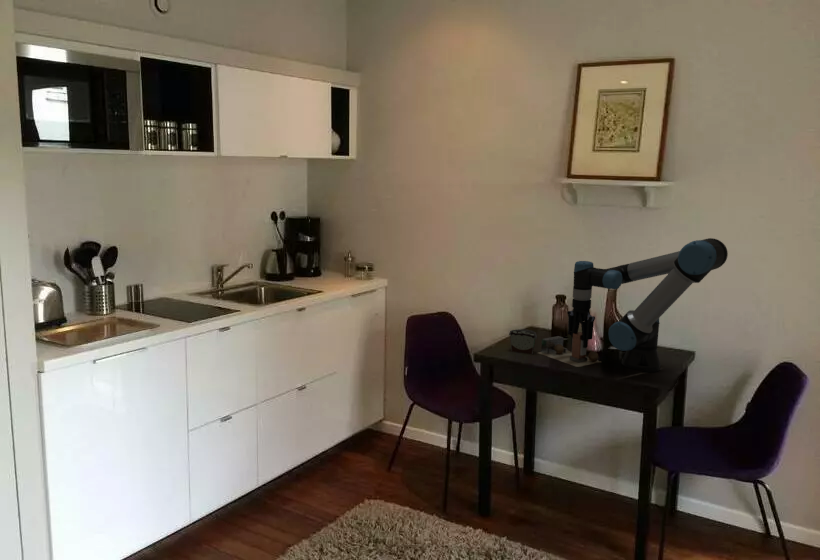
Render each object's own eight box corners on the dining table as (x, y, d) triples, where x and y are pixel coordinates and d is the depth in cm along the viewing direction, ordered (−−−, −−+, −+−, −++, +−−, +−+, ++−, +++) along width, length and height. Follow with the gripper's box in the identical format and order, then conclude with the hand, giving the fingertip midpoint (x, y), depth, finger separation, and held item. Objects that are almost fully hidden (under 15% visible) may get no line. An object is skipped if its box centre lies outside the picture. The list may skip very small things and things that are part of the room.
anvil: (569, 352, 301) (569, 339, 299) (552, 356, 295) (552, 342, 294) (557, 349, 306) (558, 335, 305) (541, 352, 301) (541, 338, 300)
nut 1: (565, 354, 298) (566, 344, 298) (558, 355, 296) (559, 346, 295) (558, 351, 302) (559, 342, 301) (551, 353, 300) (552, 343, 299)
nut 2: (600, 361, 288) (600, 352, 287) (593, 363, 286) (593, 353, 285) (592, 359, 291) (593, 349, 291) (585, 360, 289) (586, 351, 288)
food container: (539, 353, 303) (540, 331, 301) (535, 356, 298) (536, 334, 296) (512, 349, 308) (513, 327, 307) (508, 353, 303) (509, 330, 301)
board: (601, 364, 288) (601, 361, 288) (577, 369, 281) (577, 367, 280) (560, 350, 308) (560, 348, 308) (536, 354, 300) (536, 352, 300)
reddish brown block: (587, 360, 289) (588, 334, 287) (578, 362, 286) (579, 335, 284) (578, 357, 293) (579, 331, 291) (569, 359, 290) (571, 333, 288)
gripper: (604, 301, 279) (600, 357, 284) (573, 294, 294) (570, 347, 298) (591, 303, 276) (587, 359, 280) (560, 295, 290) (557, 349, 294)
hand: (578, 353), depth 289 cm, fingers closed on reddish brown block, 4 cm apart
